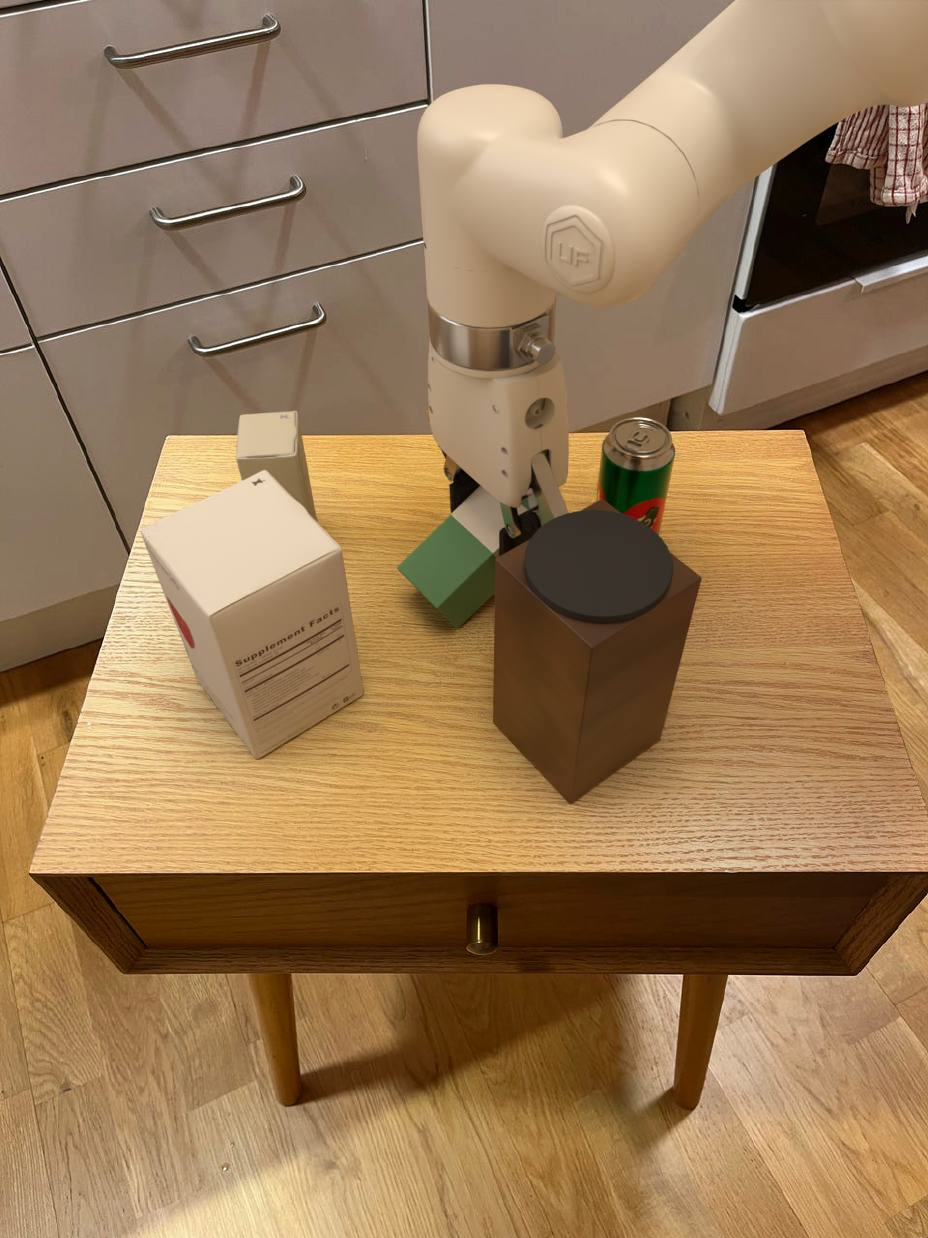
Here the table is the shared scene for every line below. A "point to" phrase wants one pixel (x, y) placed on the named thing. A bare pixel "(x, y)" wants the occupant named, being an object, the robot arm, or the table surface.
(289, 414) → the box
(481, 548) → the block
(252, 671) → the rectangular carton
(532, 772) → the table surface
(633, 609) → the coaster
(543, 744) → the pedestal
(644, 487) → the soda can
